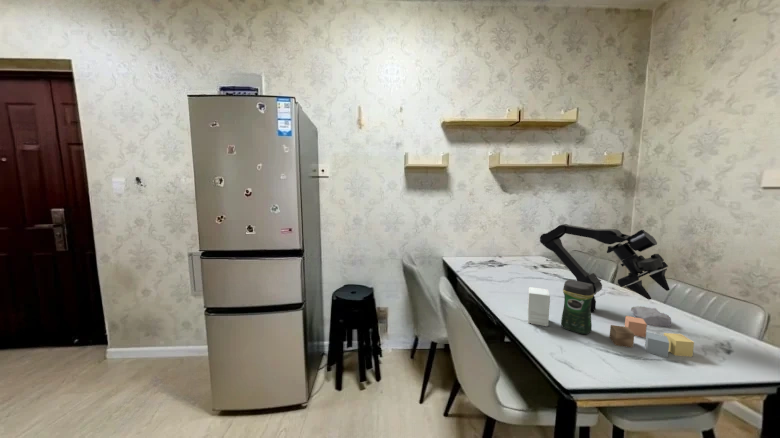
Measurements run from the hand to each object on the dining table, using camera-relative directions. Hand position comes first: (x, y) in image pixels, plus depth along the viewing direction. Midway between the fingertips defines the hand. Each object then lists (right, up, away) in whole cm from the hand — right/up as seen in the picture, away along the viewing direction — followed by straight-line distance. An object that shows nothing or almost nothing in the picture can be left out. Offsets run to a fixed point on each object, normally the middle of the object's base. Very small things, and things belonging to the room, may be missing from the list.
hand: (659, 294), depth 106 cm
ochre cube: (-5, -16, -12) cm, 20 cm away
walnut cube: (-19, -15, -6) cm, 25 cm away
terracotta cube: (-9, -14, +1) cm, 17 cm away
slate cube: (-12, -16, -11) cm, 23 cm away
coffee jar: (-29, -14, +4) cm, 32 cm away
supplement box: (-40, -13, +10) cm, 43 cm away
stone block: (+6, -13, +11) cm, 18 cm away
